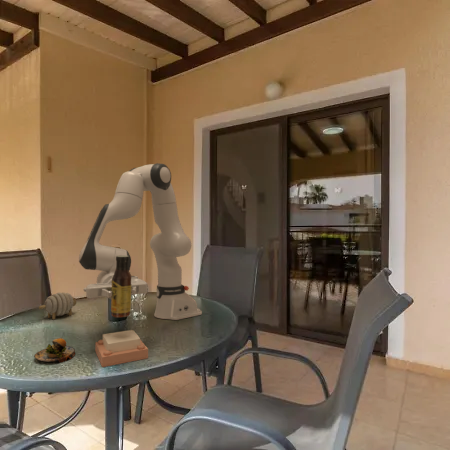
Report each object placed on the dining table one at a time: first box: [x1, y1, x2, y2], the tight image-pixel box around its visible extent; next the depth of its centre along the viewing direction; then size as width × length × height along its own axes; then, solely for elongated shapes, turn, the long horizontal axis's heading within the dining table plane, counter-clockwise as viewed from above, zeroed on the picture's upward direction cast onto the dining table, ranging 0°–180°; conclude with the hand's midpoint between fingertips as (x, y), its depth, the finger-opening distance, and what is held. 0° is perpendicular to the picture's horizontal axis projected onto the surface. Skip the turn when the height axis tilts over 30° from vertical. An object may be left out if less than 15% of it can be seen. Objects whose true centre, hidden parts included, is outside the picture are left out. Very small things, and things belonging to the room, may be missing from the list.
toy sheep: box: [38, 292, 77, 320], centre depth 150 cm, size 11×17×11 cm, turn 149°
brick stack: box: [94, 329, 149, 368], centre depth 108 cm, size 14×14×6 cm
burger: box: [33, 332, 76, 364], centre depth 106 cm, size 12×12×8 cm
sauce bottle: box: [110, 255, 132, 319], centre depth 108 cm, size 6×6×20 cm
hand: (121, 293), depth 107 cm, fingers closed on sauce bottle, 6 cm apart
